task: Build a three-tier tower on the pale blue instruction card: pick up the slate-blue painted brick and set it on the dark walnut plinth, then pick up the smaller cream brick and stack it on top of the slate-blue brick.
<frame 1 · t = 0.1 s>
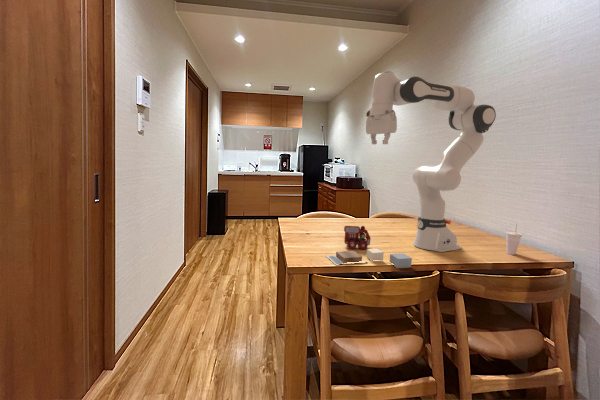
hand: (379, 144, 139), 48 cm above the table, fingers open, 8 cm apart
cream brick: (374, 259, 134), on the table
instruction card: (346, 259, 133), on the table
slate brick: (400, 265, 129), on the table
smoothie: (510, 253, 148), on the table
toy fire truck: (356, 247, 150), on the table
plinth: (348, 258, 133), resting on instruction card
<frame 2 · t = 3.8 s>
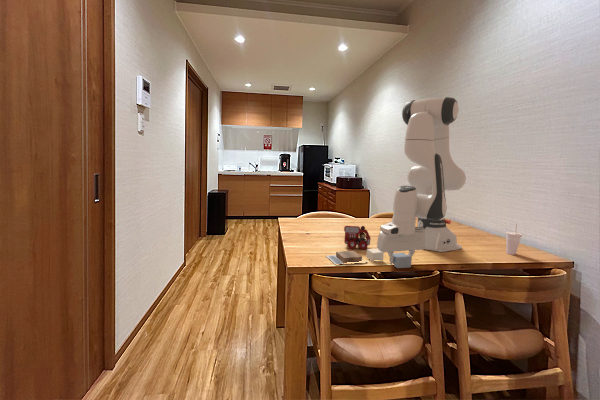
hand: (400, 260, 128), 2 cm above the table, fingers closed on slate brick, 6 cm apart
slate brick: (400, 265, 129), on the table, touching gripper
everything else where it was.
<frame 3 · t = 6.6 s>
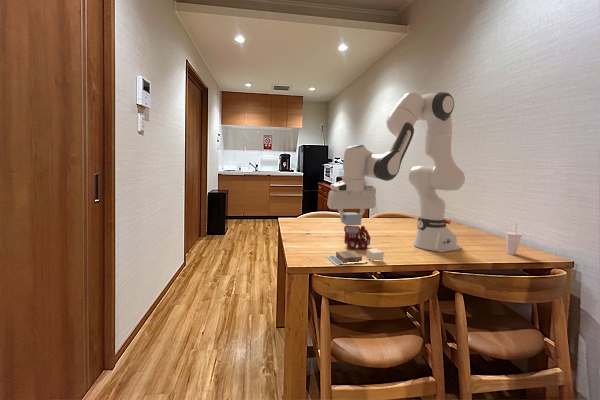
hand: (350, 219, 130), 17 cm above the table, fingers closed on slate brick, 6 cm apart
slate brick: (350, 223, 130), point 15 cm above the table, touching gripper
everything else where it was.
when the fingers open (5 cm above the table, at t = 9.3 s): slate brick stays where it is, resting on plinth.
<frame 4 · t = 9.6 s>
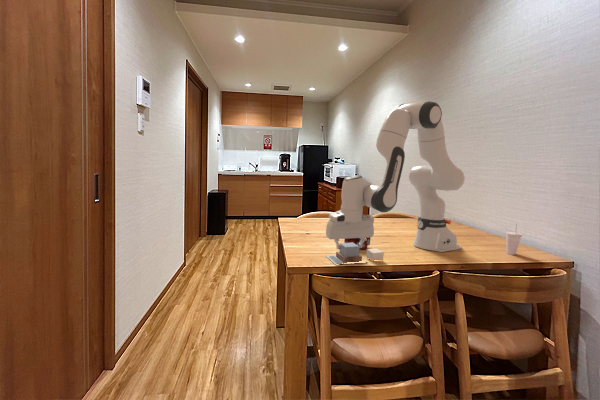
hand: (349, 248, 132), 5 cm above the table, fingers open, 8 cm apart
slate brick: (349, 254, 133), point 2 cm above the table, touching plinth
everything else where it was.
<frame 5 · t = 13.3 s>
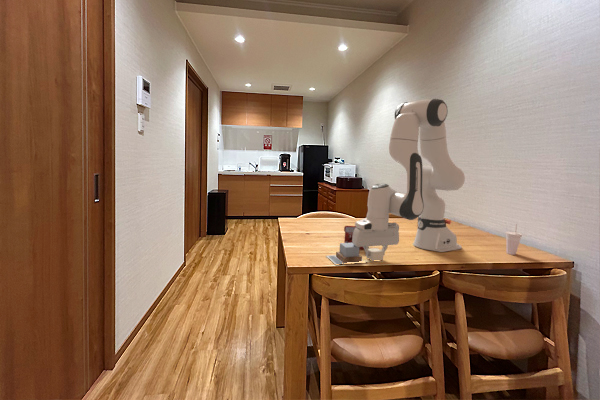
hand: (374, 255, 134), 2 cm above the table, fingers closed on cream brick, 5 cm apart
cream brick: (374, 259, 134), on the table, touching gripper
everything else where it was.
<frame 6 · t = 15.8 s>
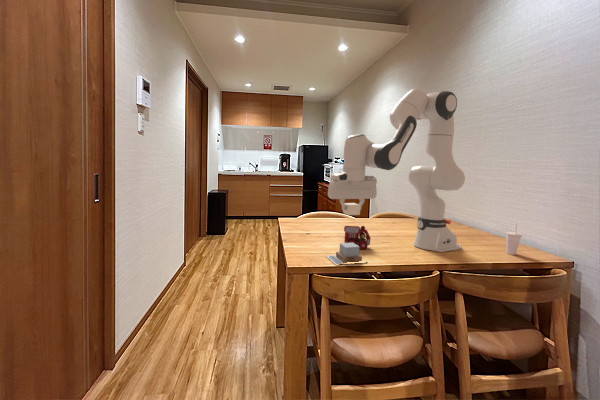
hand: (351, 209, 130), 21 cm above the table, fingers closed on cream brick, 5 cm apart
cream brick: (351, 213, 130), point 19 cm above the table, touching gripper
everything else where it was.
when the fingers open (9 cm above the table, at t = 18.4 s): cream brick stays where it is, resting on slate brick.
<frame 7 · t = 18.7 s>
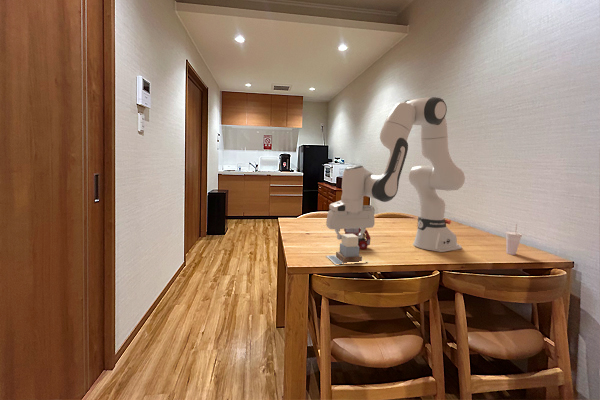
hand: (349, 238, 132), 9 cm above the table, fingers open, 8 cm apart
cream brick: (349, 244, 132), point 6 cm above the table, touching slate brick
slate brick: (349, 254, 133), point 2 cm above the table, touching cream brick, plinth
everything else where it was.
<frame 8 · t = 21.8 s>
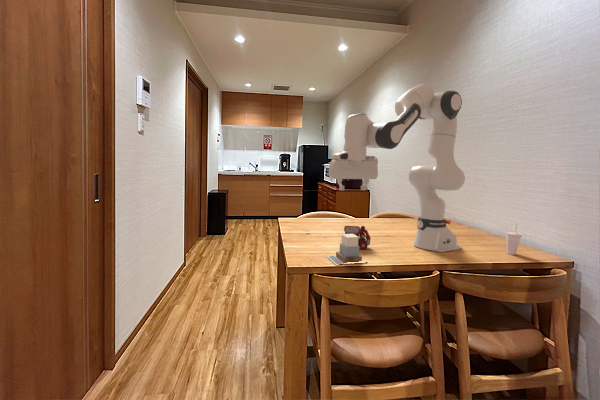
hand: (352, 190, 128), 29 cm above the table, fingers open, 8 cm apart
nothing on the table moved.
at the end: slate brick 0.1 cm off-centre on the plinth, point 2.0 cm above the plinth's base; cream brick 0.0 cm off-centre on the slate brick, point 4.0 cm above the slate brick's base; cream brick tilted 0° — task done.
